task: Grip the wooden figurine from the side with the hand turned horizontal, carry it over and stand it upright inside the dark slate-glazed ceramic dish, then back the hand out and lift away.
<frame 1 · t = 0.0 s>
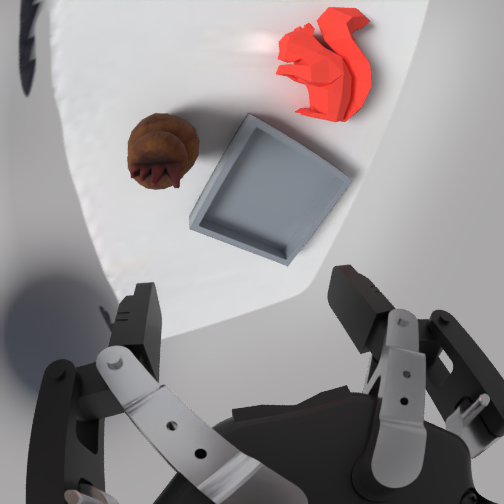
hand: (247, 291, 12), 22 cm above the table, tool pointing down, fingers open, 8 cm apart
wooden figurine: (168, 135, 27), on the table
slate dish: (267, 191, 34), on the table
animal figurine: (319, 56, 25), on the table
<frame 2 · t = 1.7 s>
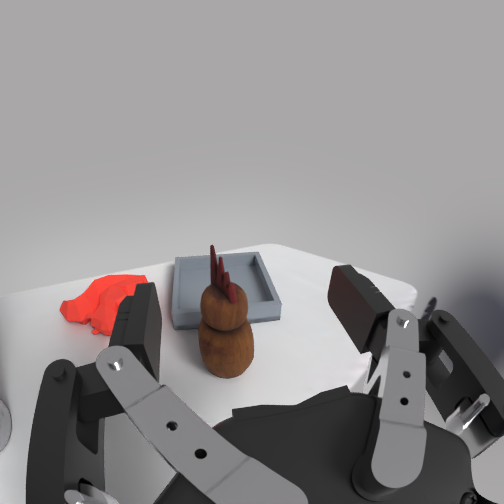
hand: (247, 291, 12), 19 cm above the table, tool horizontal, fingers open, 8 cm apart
wooden figurine: (227, 365, 31), on the table
slate dish: (222, 293, 43), on the table
animal figurine: (108, 319, 36), on the table
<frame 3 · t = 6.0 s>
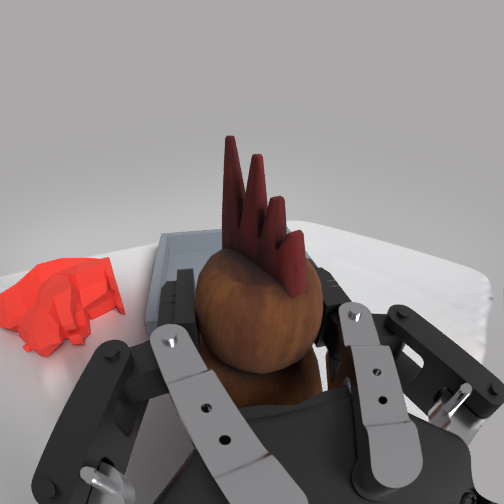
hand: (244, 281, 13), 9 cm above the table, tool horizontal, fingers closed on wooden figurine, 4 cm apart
wooden figurine: (252, 420, 14), on the table, touching gripper
slate dish: (233, 287, 27), on the table
animal figurine: (55, 327, 20), on the table
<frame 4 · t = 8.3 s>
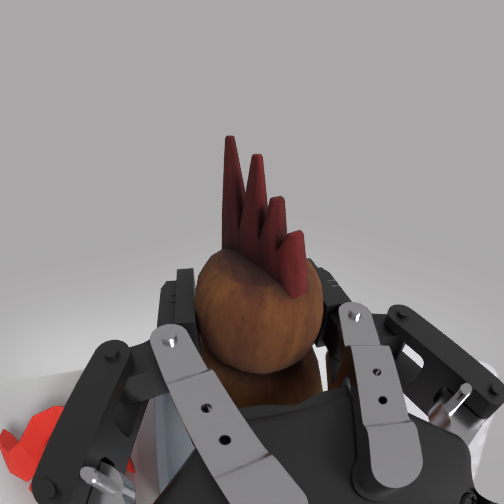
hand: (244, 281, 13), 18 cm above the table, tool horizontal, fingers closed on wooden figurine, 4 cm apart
wooden figurine: (252, 420, 14), point 9 cm above the table, touching gripper
slate dish: (240, 434, 21), on the table
animal figurine: (67, 469, 14), on the table
when the fingers open (10 cm above the table, at t = 10.7 s): wooden figurine drops 1 cm, resting on slate dish.
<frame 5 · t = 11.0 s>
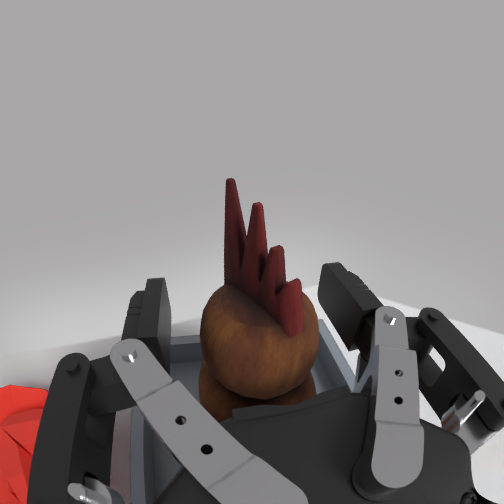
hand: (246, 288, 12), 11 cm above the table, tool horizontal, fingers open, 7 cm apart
wooden figurine: (254, 431, 15), point 1 cm above the table, touching slate dish
slate dish: (251, 433, 15), on the table
animal figurine: (24, 468, 9), on the table
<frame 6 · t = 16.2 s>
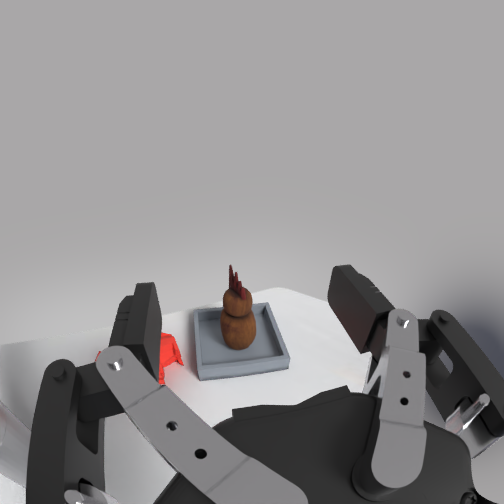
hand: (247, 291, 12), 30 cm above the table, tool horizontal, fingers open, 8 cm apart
wooden figurine: (238, 342, 47), point 1 cm above the table, touching slate dish
slate dish: (237, 344, 47), on the table
animal figurine: (140, 370, 41), on the table
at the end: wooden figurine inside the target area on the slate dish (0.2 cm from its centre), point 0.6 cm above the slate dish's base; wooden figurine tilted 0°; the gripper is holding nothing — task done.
